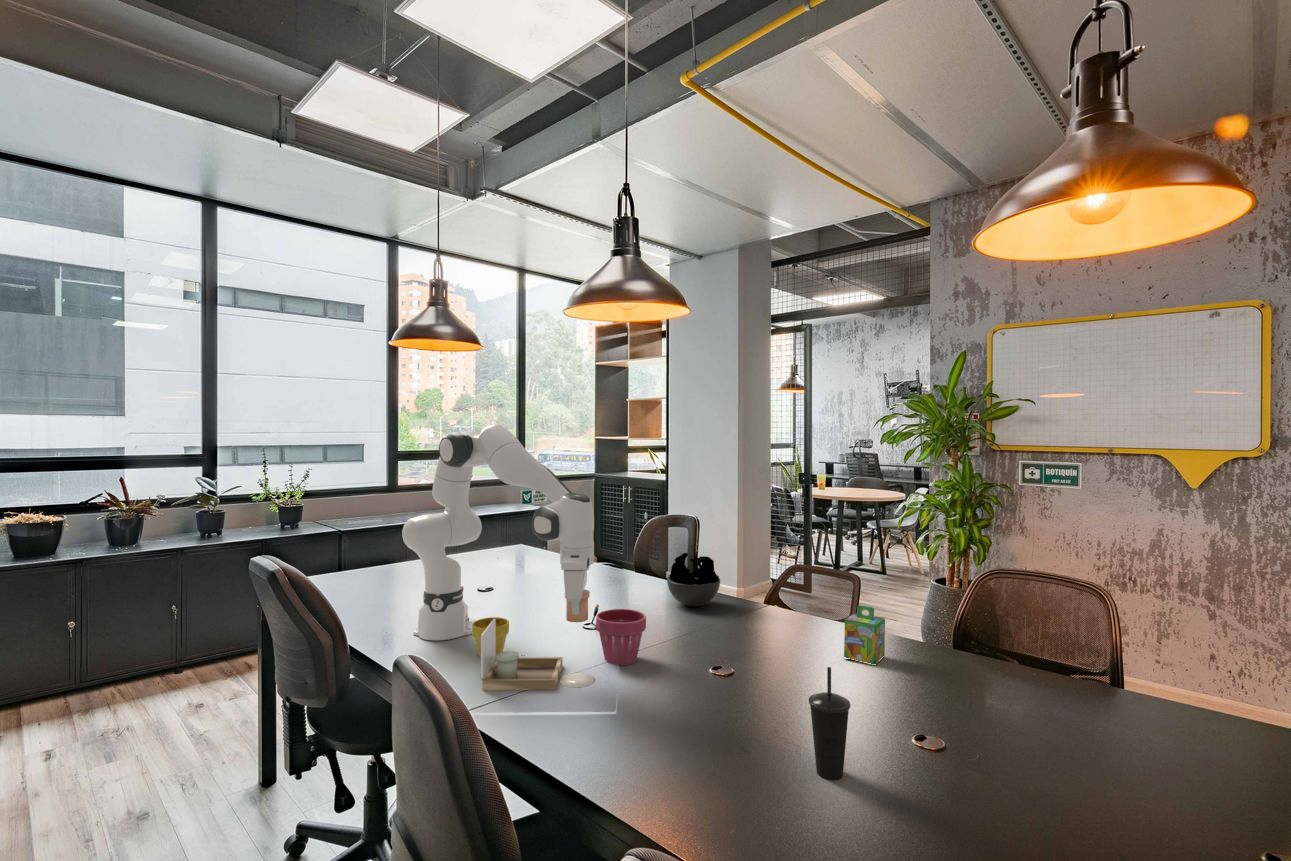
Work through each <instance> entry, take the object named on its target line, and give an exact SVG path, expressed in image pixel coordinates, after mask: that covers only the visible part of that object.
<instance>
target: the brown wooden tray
mask: <svg viewBox="0 0 1291 861" xmlns="http://www.w3.org/2000/svg"><path fill="white" fill-rule="evenodd" d="M562 668H563V656H561V657H560V656H556V657H555V656H554V657H553V656H551V657H549V656H548V657H545V656H544V657H543V656H542V657H538V656H537V657H533V656H532V657H529V656H527V657H519V658H518V660H517V678H516V679H497V661H495V663H494V664H493V666H492V668H491V669H490V671H489V672H488V674H487V676H486V677H485V679H483V681H482V691H483V692H484V691H488V692H489V691H492V692H493V691H555V690H556V688H557V684H558V682H559V680H560V675H561V671H562Z"/></svg>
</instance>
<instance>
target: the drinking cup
mask: <svg viewBox="0 0 1291 861" xmlns="http://www.w3.org/2000/svg"><path fill="white" fill-rule="evenodd" d="M826 669H827V671H826V673H827V674H826V675H827V677H826V679H827V682H826V685H827V690H826V691H827V692H826V691H824V692H819V693H818V692H817V693H815V694H814V693H813V694H811V695H810V696H809V697H808V704H809V706H810V716H811V726H812V727H811V728H812V735H813V736H812V737H813V748H814V749H813V750H814V758H815V768H816V774H817V775H818V776H819V777H820V778H823V779H826V780H830V781H838V780H841V779H842V778H843V776H844V769H845V753H846V746H847V745H846V744H847V732H848V721H849V710H850V709H851V701H849V700H848V699H847V698H846V697H844V696H842V695H839V694H837V693H834V692H832V667H830V666H828V667H827V668H826Z"/></svg>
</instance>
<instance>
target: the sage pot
mask: <svg viewBox="0 0 1291 861" xmlns="http://www.w3.org/2000/svg"><path fill="white" fill-rule="evenodd" d="M519 654H520V653H519V652H518V651H515V650H503V652H500V653H498V654H496V661H497V679H516V678H517V660H518V658H520V657H519Z"/></svg>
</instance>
